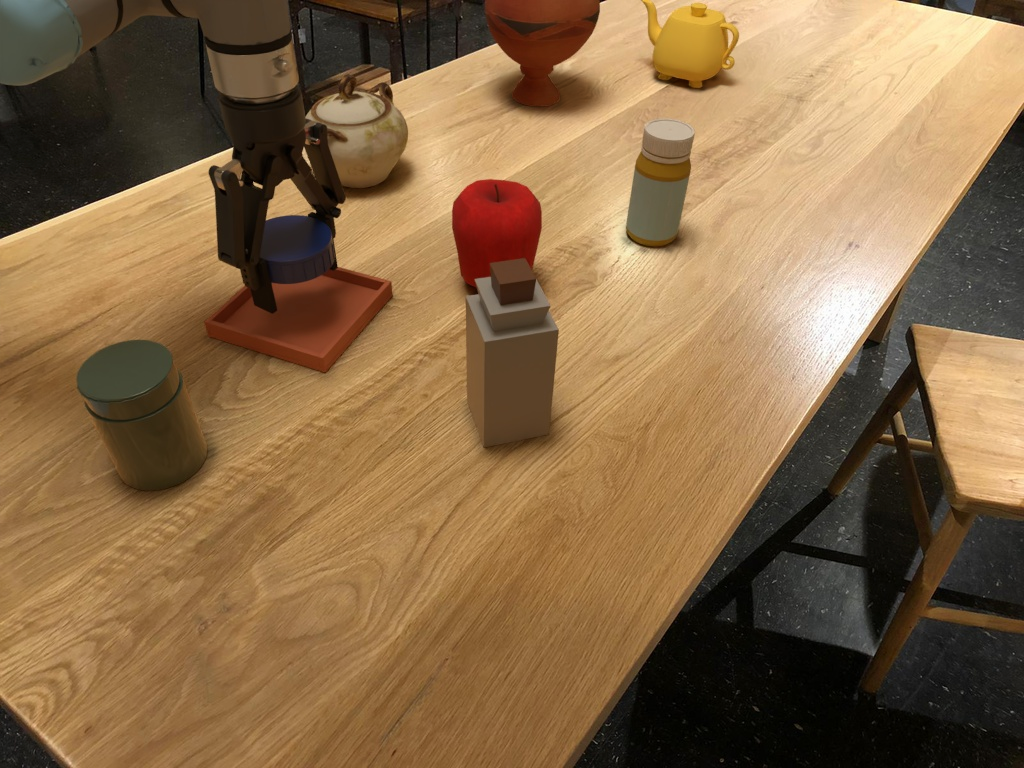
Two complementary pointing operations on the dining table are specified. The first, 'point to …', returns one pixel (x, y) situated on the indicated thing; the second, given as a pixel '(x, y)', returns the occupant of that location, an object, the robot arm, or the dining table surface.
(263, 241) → the lid
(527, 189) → the apple
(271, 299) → the robot arm
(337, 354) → the tray
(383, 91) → the sugar bowl
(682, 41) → the teapot
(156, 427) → the jar
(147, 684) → the dining table surface
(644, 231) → the bottle
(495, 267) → the perfume bottle
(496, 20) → the goblet
